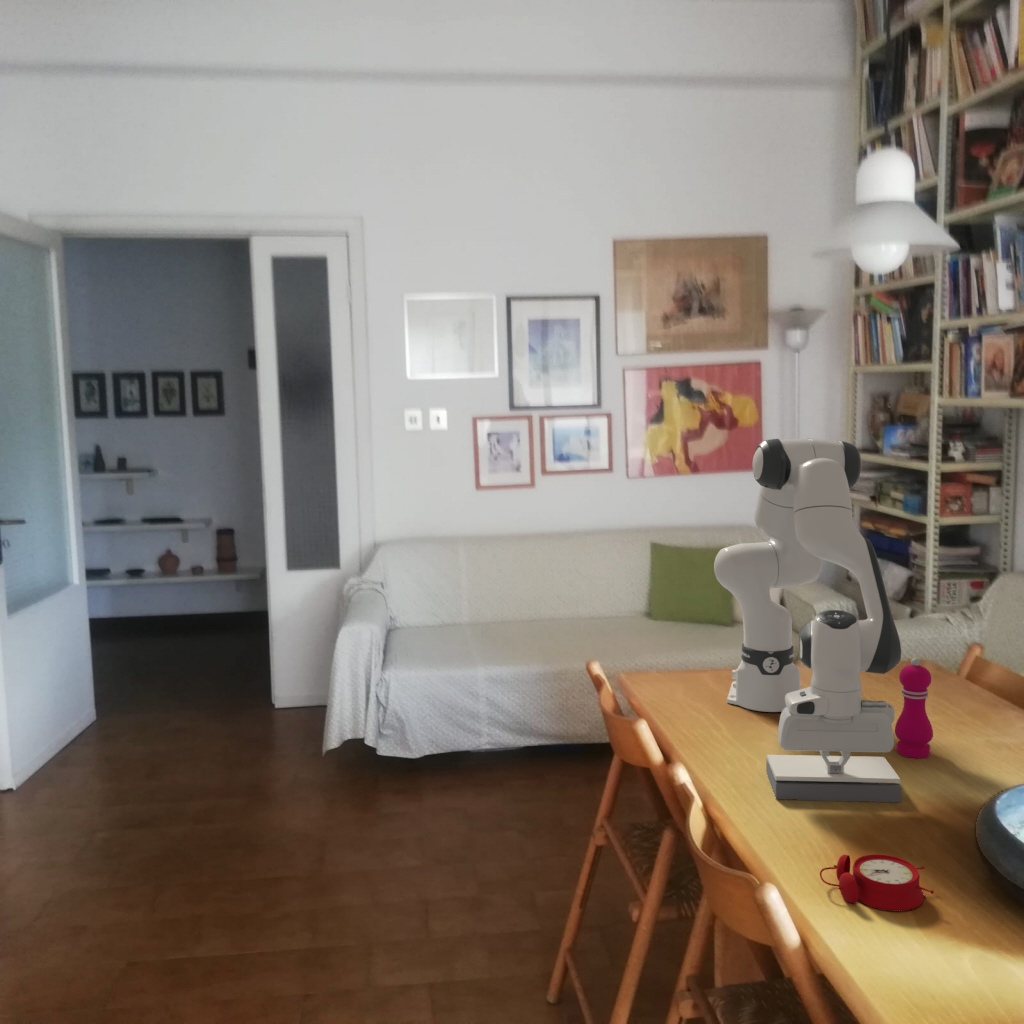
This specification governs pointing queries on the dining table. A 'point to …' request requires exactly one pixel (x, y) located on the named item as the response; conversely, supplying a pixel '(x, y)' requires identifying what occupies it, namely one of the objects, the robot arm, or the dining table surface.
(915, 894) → the alarm clock
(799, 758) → the cover
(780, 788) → the grey flat frame
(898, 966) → the dining table surface
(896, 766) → the dining table surface
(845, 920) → the dining table surface
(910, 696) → the pepper mill
